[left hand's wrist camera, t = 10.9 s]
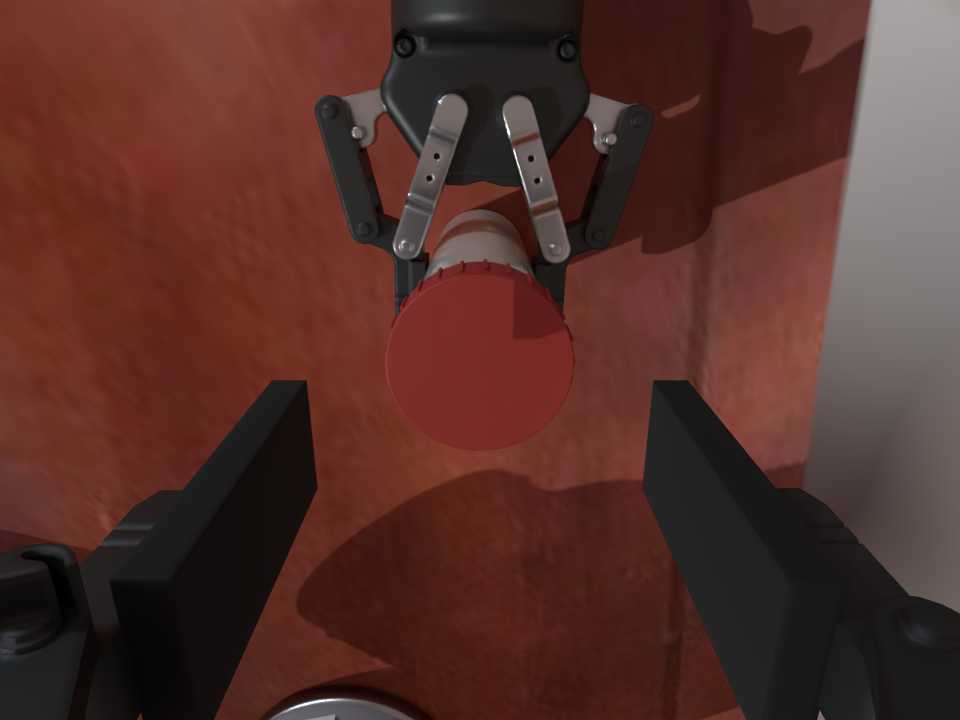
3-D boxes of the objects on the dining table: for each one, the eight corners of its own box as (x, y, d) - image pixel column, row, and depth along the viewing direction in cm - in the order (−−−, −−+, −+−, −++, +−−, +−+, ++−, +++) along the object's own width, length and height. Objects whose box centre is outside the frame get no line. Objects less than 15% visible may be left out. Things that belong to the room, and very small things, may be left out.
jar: (512, 199, 34) (541, 264, 18) (532, 285, 35) (575, 414, 19) (425, 222, 34) (378, 305, 18) (449, 306, 36) (425, 449, 20)
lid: (547, 237, 19) (554, 248, 17) (584, 404, 21) (593, 429, 19) (368, 284, 20) (357, 299, 18) (420, 442, 21) (415, 471, 20)
